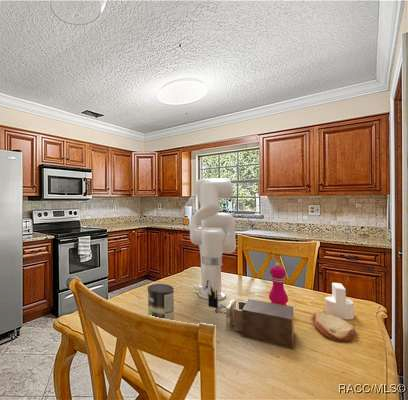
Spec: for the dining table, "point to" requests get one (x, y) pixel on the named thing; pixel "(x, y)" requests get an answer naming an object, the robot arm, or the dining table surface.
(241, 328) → the drawer
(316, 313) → the slice of bread
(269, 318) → the cabinet
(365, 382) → the dining table surface
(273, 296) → the pepper mill
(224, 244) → the robot arm
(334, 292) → the white stepped tower
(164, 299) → the coffee can
